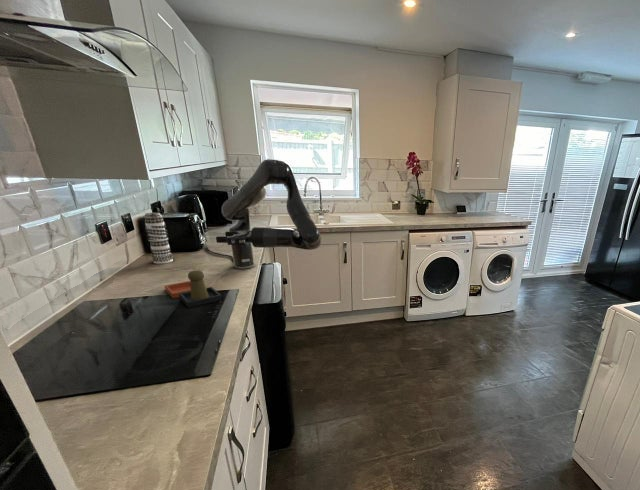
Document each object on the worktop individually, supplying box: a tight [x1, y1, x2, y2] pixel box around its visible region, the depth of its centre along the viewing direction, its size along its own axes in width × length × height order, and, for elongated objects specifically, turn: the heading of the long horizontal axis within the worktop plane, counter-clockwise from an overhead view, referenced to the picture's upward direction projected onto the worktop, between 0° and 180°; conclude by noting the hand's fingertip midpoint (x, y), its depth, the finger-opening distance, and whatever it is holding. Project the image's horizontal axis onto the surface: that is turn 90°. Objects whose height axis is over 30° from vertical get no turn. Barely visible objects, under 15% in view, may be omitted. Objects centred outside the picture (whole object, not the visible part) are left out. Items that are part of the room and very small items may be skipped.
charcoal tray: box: [179, 286, 223, 309], centre depth 126 cm, size 12×12×2 cm
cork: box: [187, 270, 209, 301], centre depth 125 cm, size 6×6×11 cm
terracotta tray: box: [164, 280, 191, 299], centre depth 133 cm, size 12×12×2 cm
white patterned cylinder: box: [143, 212, 174, 265], centre depth 165 cm, size 9×9×25 cm
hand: (221, 236), depth 119 cm, fingers open, 8 cm apart
